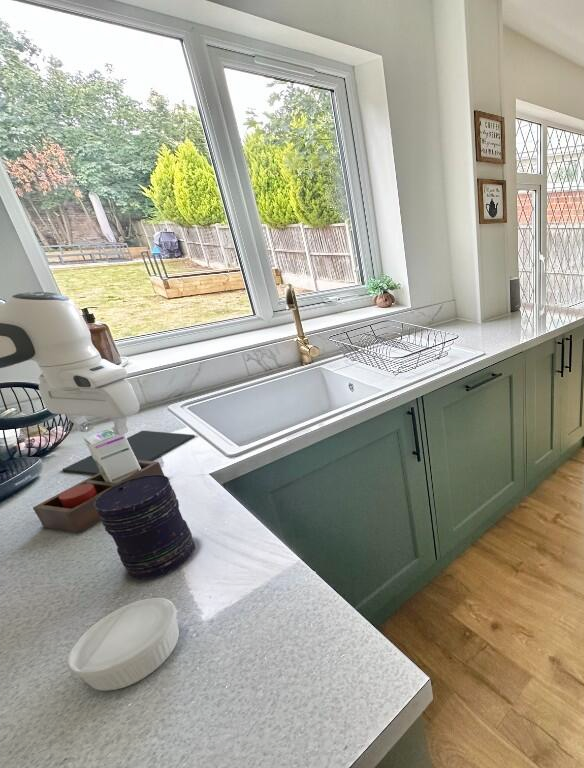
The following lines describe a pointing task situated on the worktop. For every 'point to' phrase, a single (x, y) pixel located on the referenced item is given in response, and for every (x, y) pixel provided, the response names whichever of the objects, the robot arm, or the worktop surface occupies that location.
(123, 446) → the syrup box
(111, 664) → the ramekin
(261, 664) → the worktop surface
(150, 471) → the caddy
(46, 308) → the robot arm
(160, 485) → the dark blue cylinder
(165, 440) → the mat
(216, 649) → the worktop surface
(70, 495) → the spice tin
